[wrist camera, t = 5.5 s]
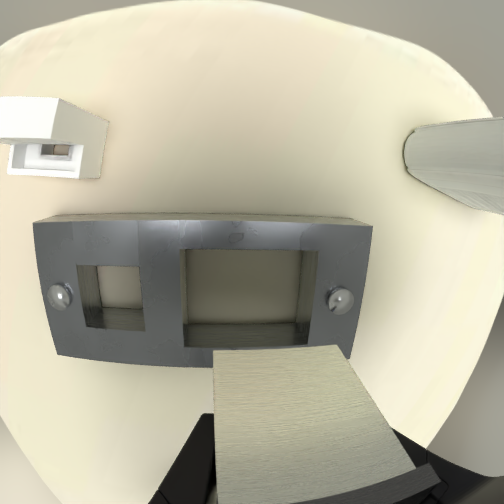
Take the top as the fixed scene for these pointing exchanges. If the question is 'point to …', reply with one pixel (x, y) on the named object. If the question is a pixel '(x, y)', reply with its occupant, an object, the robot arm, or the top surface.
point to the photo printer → (461, 160)
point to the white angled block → (51, 137)
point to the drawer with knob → (305, 433)
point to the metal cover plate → (174, 283)
